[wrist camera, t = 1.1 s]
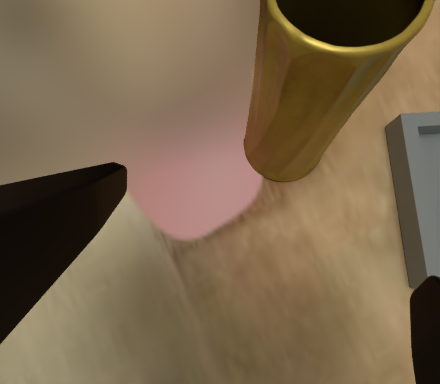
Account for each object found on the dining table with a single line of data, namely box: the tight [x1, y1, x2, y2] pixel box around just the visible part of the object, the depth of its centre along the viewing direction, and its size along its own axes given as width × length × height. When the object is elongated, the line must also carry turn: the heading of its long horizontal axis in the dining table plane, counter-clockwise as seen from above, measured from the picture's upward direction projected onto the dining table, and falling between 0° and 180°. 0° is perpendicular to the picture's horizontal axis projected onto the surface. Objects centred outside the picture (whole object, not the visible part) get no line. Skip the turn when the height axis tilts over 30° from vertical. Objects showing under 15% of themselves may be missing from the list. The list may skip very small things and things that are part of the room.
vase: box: [244, 0, 435, 182], centre depth 16 cm, size 6×6×14 cm
